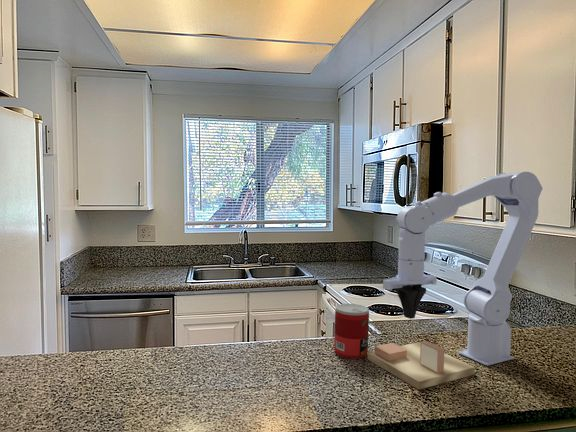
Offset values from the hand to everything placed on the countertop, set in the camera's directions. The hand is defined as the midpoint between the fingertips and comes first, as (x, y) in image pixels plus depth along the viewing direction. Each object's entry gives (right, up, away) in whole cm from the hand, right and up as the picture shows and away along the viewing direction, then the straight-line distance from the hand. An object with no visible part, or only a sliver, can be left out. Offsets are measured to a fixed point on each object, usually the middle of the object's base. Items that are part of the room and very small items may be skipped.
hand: (409, 317), depth 95 cm
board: (+1, -10, -4) cm, 11 cm away
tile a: (-3, -7, -1) cm, 8 cm away
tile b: (+2, -9, -8) cm, 12 cm away
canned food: (-13, -10, +3) cm, 16 cm away
